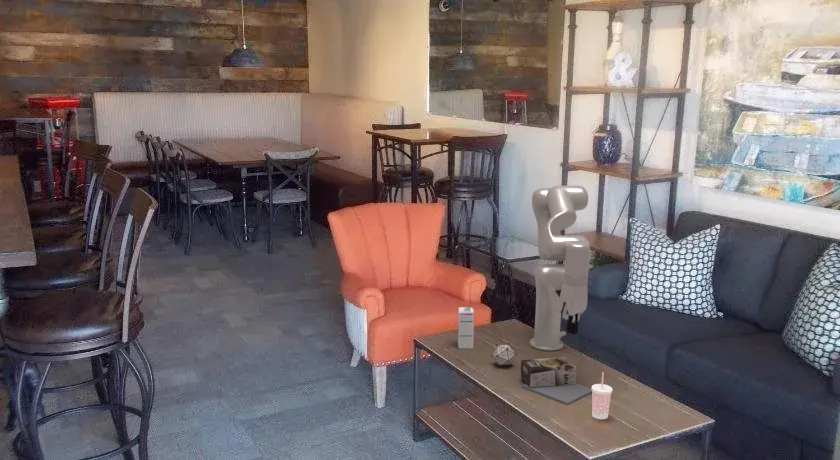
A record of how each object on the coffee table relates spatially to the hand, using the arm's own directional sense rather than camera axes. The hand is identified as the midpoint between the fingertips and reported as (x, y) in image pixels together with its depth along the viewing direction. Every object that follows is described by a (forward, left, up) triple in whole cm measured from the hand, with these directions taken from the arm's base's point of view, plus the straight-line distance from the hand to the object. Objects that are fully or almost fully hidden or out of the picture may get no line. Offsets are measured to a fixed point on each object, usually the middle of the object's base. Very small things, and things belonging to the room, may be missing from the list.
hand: (571, 332), depth 239 cm
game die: (+4, -24, -18) cm, 31 cm away
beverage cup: (+13, +21, -18) cm, 30 cm away
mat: (+7, +1, -18) cm, 19 cm away
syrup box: (0, -46, -18) cm, 50 cm away
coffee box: (-2, -1, -14) cm, 14 cm away
